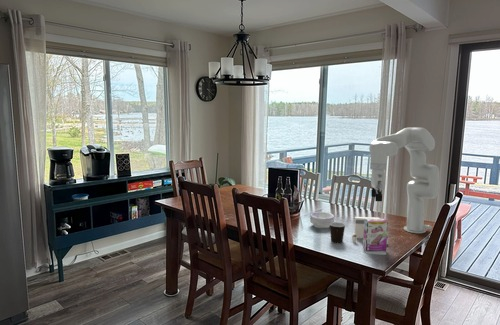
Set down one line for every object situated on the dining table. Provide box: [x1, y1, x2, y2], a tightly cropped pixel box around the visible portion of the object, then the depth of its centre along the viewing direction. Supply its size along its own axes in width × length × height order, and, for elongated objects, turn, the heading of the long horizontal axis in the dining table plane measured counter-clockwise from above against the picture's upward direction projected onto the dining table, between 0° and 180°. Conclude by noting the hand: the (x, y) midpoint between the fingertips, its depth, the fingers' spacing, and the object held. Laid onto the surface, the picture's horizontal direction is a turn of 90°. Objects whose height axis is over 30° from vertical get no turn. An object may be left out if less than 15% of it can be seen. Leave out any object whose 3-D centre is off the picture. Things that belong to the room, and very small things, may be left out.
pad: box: [364, 250, 387, 256], centre depth 180 cm, size 10×10×1 cm
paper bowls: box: [309, 211, 335, 230], centre depth 221 cm, size 15×15×8 cm
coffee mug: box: [329, 221, 346, 244], centre depth 192 cm, size 12×9×10 cm
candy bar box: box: [362, 218, 389, 252], centre depth 179 cm, size 11×5×16 cm, turn 93°
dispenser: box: [351, 216, 389, 245], centre depth 195 cm, size 18×12×12 cm, turn 82°
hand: (376, 199), depth 176 cm, fingers open, 9 cm apart
